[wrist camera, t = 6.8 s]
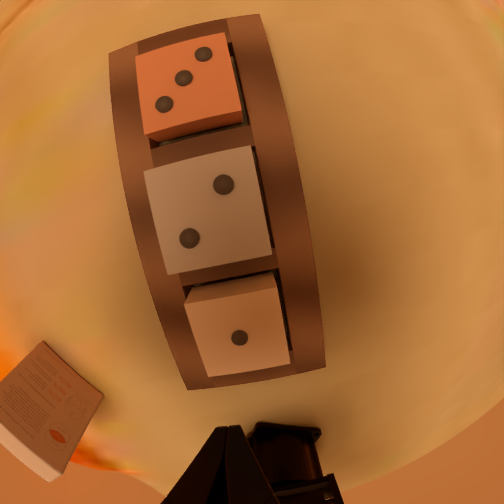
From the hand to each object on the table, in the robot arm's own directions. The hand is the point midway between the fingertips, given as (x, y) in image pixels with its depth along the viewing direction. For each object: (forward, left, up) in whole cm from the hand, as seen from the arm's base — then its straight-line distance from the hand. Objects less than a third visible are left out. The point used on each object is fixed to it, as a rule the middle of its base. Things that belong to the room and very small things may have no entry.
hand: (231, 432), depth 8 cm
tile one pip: (0, 0, -10) cm, 10 cm away
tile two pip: (+3, -6, -9) cm, 11 cm away
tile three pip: (+6, -12, -10) cm, 17 cm away
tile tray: (+3, -6, -11) cm, 13 cm away
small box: (+14, +14, -11) cm, 23 cm away
